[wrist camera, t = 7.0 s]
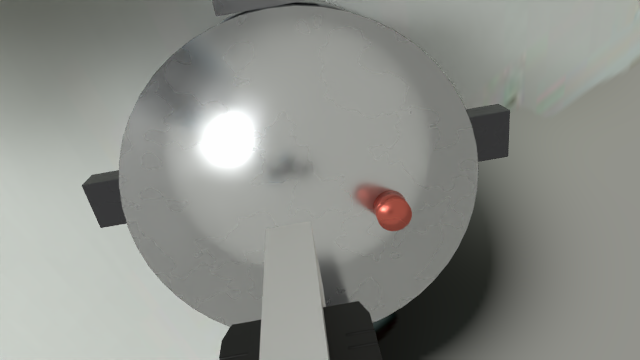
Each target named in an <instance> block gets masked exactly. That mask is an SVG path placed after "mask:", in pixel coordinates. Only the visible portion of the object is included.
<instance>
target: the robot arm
mask: <svg viewBox="0 0 640 360" xmlns="http://www.w3.org/2000/svg"><path fill="white" fill-rule="evenodd" d="M219 358H220V360H382V356H381V353H380V349H379V345H378V342H377V338H376V334H375V331H374V327H373V323H372V319H371V316H370V313H369V312H368V310H367V309H366V308H365V307H364V306H363V305H362V304H361V303H360V302H359V301H355V302H350V303H344V304H339V305H333V306H327V307H326V304H325V297H324V290H323V284H322V278H321V273H320V268H319V262H318V257H317V252H316V247H315V241H314V236H313V231H312V225H311V221H308V222H302V223H297V224H291V225H285V226H279V227H274V228H268V229H266V239H265V258H264V278H263V297H262V316H261V320H256V321H250V322H244V323H239V324H233V325H231V327H230V328H229V330H228V332H227V333H226V335H225V337H224V338H223V340H222V344H221V350H220V356H219Z"/></svg>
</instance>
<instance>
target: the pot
mask: <svg viewBox="0 0 640 360" xmlns="http://www.w3.org/2000/svg"><path fill="white" fill-rule="evenodd" d="M212 1H213V5H214V9H215V13H216V16H220V15H226V14H232V13H235V14H233V15H231V16H229V17H228V18H226V19H225V20H223V21H222V22H220V23H223V22H225V21H228V20H230V19H232V18H235V17H237V16H240V15H243V14H247V13H251V12H255V11H260V10H264V9H268V8H278V7H288V6H313V7H326V8H331V9H336V10H342V11H347V10H345V9H343V8H341V7H339V6H336V5H333V4H330V3H327V2H324V1H320V0H212ZM347 12H349V11H347ZM220 23H219V24H220ZM466 112H467V114H468V117H469V119H470V122H471V125H472V129H473V133H474V137H475V141H476V146H477V157H478V162H479V161H485V160H491V159H496V158H502V157H507V156H508V143H509V118H510V110H508V109H506V108H505V107H503V106H501V105H499V104H495V105H490V106H484V107H478V108H472V109H467V110H466ZM82 187H83V189H84V192H85V194H86V196H87V198H88V200H89V203H90V205H91V207H92V209H93V212H94V214H95V216H96V218H97V221H98V223H99V225H100V227H101V228H103V227H109V226H114V225H120V224H126V223H127V222H126V218H125V215H124V212H123V208H122V202H121V195H120V189H119V170H118V171H112V172H106V173H101V174H95V175H91V177H90V178H89V179H88V180H87V181H86V182H85V183H84V184H83V185H82Z"/></svg>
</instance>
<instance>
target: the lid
mask: <svg viewBox="0 0 640 360" xmlns="http://www.w3.org/2000/svg"><path fill="white" fill-rule="evenodd" d="M477 187H478V157H477V146H476V141H475V137H474V133H473V129H472V125H471V122H470V119H469V117H468V114H467V112H466V109H465V107H464V104H463V102H462V100H461V98H460V97H459V95H458V93H457V92H456V90H455V88H454V86H453V85H452V83H451V82H450V80H449V79H448V78H447V76H446V75H445V74H444V73H443V71H442V70H441V69H440V68H439V66H438V65H437V64H436V63H435V62H434V61H433V60H432V59H431V58H430V57H429V56H428V55H427V54H426V53H425V52H423V51H422V50H421V49H420V48H419V47H418V46H417V45H415V44H414V43H412V42H411V41H410V40H408V39H407V38H405V37H404V36H402V35H401V34H400V33H398V32H396V31H394V30H392V29H390V28H388V27H386V26H384V25H382V24H381V23H379V22H377V21H375V20H372V19H369V18H366V17H363V16H360V15H357V14H354V13H351V12H347V11H342V10H336V9H331V8H326V7H313V6H288V7H278V8H268V9H264V10H260V11H255V12H251V13H247V14H243V15H240V16H237V17H235V18H232V19H230V20H228V21H225V22H223V23H220V24H218V25H215V26H214V27H212V28H210V29H208V30H207V31H205V32H203V33H202V34H200V35H198V36H197V37H195V38H193V39H192V40H190V41H189V42H188V43H187V44H185V45H184V46H183V47H182V48H180V49H179V50H178V51H177V52H175V53H174V54H173V55H172V56H171V57H170V58H169V59H168V60H167V61H166V62H165V63H164V64H163V65H162V66H161V68H160V69H159V70H158V71H157V72H156V73H155V74H154V75H153V77H152V78H151V80H150V81H149V83H148V84H147V86H146V87H145V89H144V90H143V91H142V93H141V94H140V96H139V98H138V100H137V102H136V105H135V107H134V109H133V111H132V113H131V115H130V117H129V120H128V123H127V127H126V130H125V133H124V136H123V140H122V146H121V153H120V160H119V189H120V195H121V202H122V208H123V212H124V215H125V218H126V222H127V225H128V228H129V231H130V233H131V235H132V237H133V239H134V242H135V244H136V246H137V248H138V250H139V251H140V253H141V255H142V256H143V258H144V259H145V261H146V262H147V264H148V266H149V267H150V268H151V269H152V271H153V272H154V273H155V274H156V275H157V277H158V278H159V279H160V280H161V281H162V283H164V284H165V285H166V286H167V287H168V288H169V289H170V290H171V291H172V292H173V293H174V294H175V295H176V296H177V297H179V298H180V299H181V300H183V301H184V302H185V303H187V304H188V305H189V306H191V307H192V308H194V309H195V310H197V311H199V312H200V313H202V314H204V315H206V316H207V317H209V318H211V319H213V320H215V321H218V322H220V323H222V324H225V325H227V326H229V327H231V325H233V324H239V323H244V322H250V321H256V320H261V316H262V297H263V278H264V258H265V239H266V229H268V228H274V227H279V226H285V225H291V224H297V223H302V222H308V221H311V225H312V231H313V236H314V241H315V247H316V252H317V257H318V262H319V268H320V273H321V278H322V284H323V290H324V297H325V304H326V307H327V306H333V305H339V304H344V303H350V302H355V301H359V302H360V303H361V304H362V305H363V306H364V307H365V308H366V309H367V310H368V312H369V313H370V316H371V319H372V323H373V322H376V321H378V320H380V319H382V318H384V317H386V316H388V315H390V314H391V313H393V312H395V311H396V310H398V309H400V308H401V307H403V306H404V305H406V304H407V303H408V302H410V301H411V300H412V299H414V298H415V297H416V296H418V295H419V294H420V293H421V292H422V291H423V290H424V289H425V288H426V287H427V286H428V285H430V284H431V283H432V282H433V281H434V280H435V279H436V277H437V276H438V275H439V274H440V272H441V271H442V270H443V269H444V268H445V266H446V265H447V264H448V262H449V261H450V259H451V258H452V256H453V254H454V253H455V251H456V250H457V248H458V247H459V244H460V242H461V240H462V238H463V236H464V234H465V232H466V230H467V227H468V224H469V221H470V218H471V215H472V212H473V209H474V204H475V198H476V193H477Z"/></svg>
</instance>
